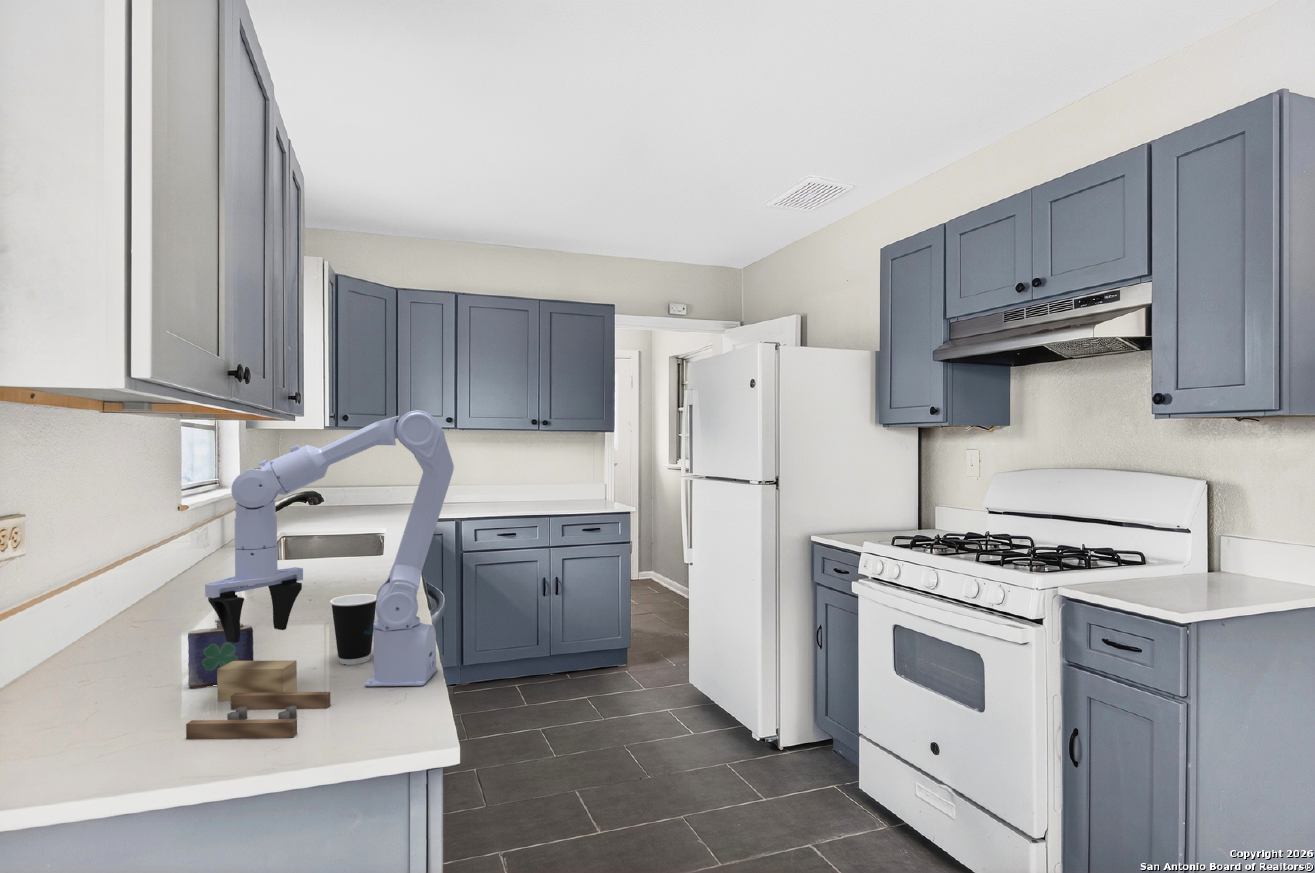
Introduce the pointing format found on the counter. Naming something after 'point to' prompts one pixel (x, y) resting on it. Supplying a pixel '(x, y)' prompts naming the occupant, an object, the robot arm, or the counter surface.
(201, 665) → the flask
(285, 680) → the light wooden block
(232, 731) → the peg frame
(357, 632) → the dixie cup
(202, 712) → the counter surface
